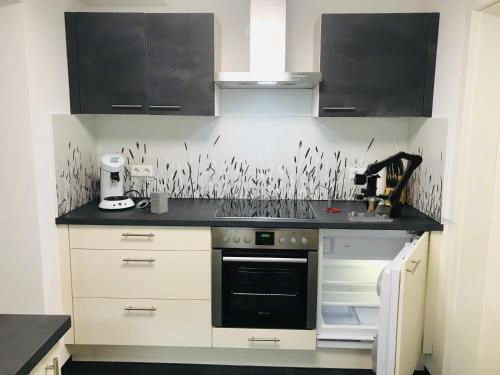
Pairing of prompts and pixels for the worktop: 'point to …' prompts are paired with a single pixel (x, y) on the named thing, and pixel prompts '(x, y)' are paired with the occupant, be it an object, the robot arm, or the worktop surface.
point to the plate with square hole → (368, 217)
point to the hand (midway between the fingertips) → (370, 211)
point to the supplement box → (159, 202)
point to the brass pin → (370, 207)
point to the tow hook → (330, 205)
